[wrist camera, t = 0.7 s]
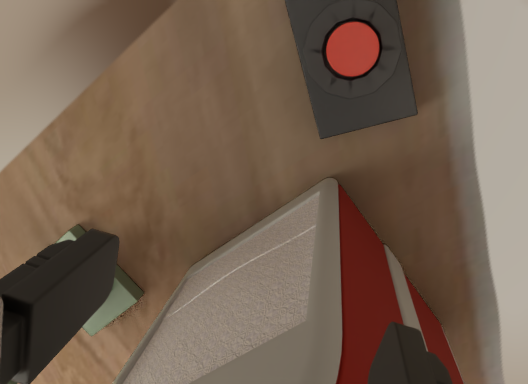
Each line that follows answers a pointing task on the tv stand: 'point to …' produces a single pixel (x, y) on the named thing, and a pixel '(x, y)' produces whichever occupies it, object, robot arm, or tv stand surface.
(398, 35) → the switch box
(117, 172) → the tv stand surface
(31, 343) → the robot arm
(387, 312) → the red striped gift box
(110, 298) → the switch bracket
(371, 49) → the button
